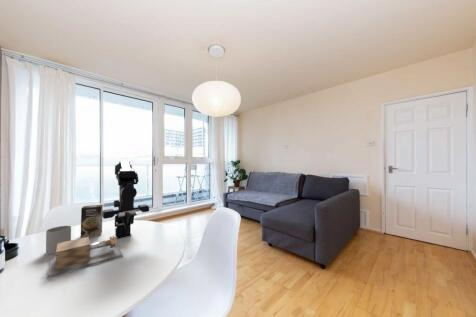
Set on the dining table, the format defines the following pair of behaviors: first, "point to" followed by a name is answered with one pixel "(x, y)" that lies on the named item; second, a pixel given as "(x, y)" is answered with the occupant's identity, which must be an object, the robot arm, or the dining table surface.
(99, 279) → the dining table surface
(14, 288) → the dining table surface
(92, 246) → the shaft
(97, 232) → the coffee box
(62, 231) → the cup
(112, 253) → the wooden block on base
